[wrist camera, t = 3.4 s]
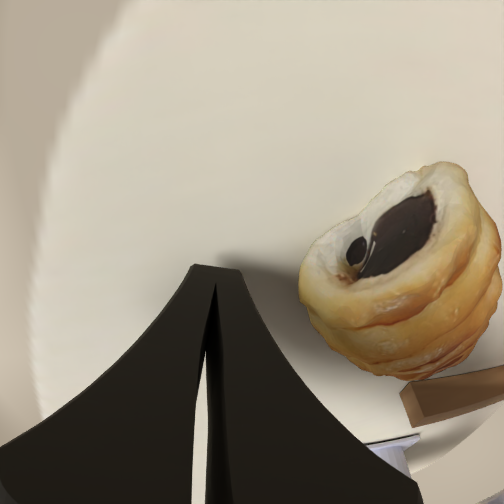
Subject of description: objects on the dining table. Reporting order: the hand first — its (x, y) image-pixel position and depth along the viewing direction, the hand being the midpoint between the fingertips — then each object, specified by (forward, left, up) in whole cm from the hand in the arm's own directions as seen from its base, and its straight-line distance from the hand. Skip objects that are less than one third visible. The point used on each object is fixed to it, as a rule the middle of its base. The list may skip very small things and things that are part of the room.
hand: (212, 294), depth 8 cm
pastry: (+1, -7, -2) cm, 7 cm away
